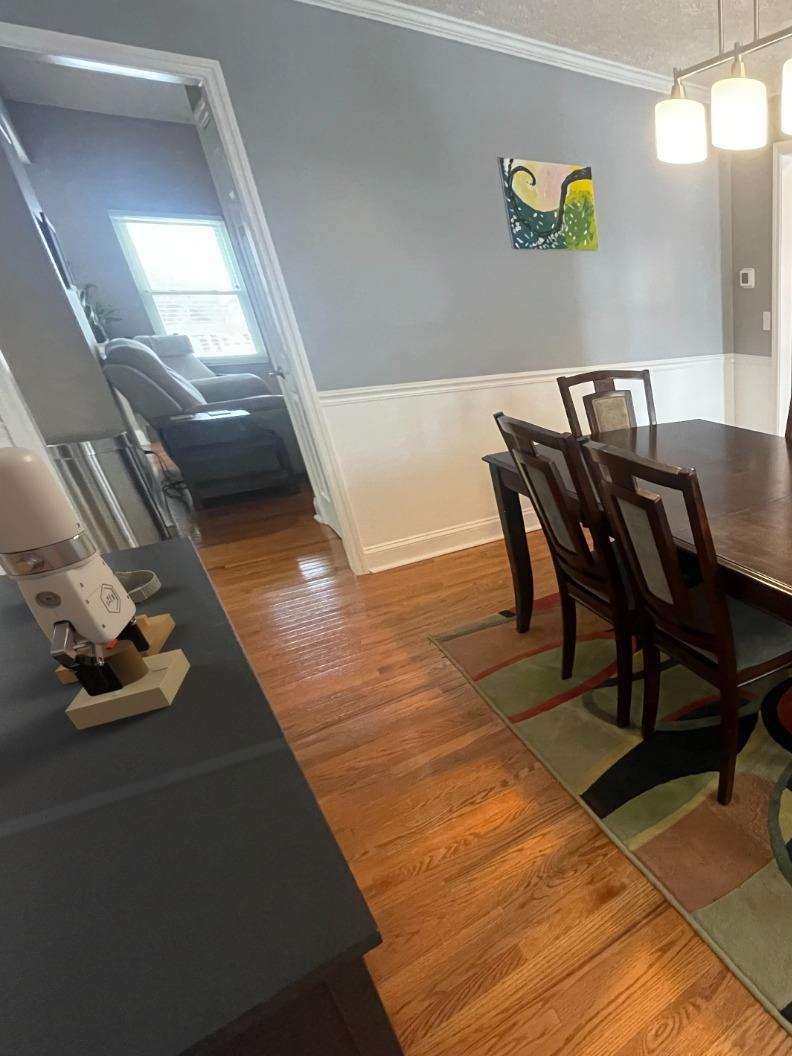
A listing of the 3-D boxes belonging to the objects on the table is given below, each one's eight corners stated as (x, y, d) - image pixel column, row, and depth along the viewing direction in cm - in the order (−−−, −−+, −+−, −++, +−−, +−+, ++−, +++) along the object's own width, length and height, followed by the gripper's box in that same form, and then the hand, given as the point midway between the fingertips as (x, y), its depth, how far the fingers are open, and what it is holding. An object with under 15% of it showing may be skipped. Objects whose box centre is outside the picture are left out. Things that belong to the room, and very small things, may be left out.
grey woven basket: (153, 585, 109) (139, 561, 107) (173, 590, 107) (159, 566, 104) (88, 610, 101) (72, 584, 99) (108, 616, 99) (92, 590, 97)
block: (63, 684, 83) (47, 661, 81) (96, 642, 92) (82, 620, 90) (152, 662, 87) (138, 640, 85) (175, 624, 96) (163, 603, 94)
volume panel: (78, 730, 74) (63, 710, 73) (107, 686, 82) (95, 667, 80) (170, 705, 78) (158, 686, 76) (190, 665, 86) (180, 647, 84)
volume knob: (143, 680, 78) (124, 650, 75) (98, 692, 76) (77, 661, 74) (153, 663, 81) (135, 634, 79) (110, 674, 79) (91, 644, 77)
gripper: (58, 575, 65) (136, 698, 73) (117, 523, 79) (178, 631, 86) (-40, 593, 62) (53, 720, 70) (39, 535, 76) (110, 646, 83)
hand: (122, 671), depth 78 cm, fingers open, 9 cm apart
